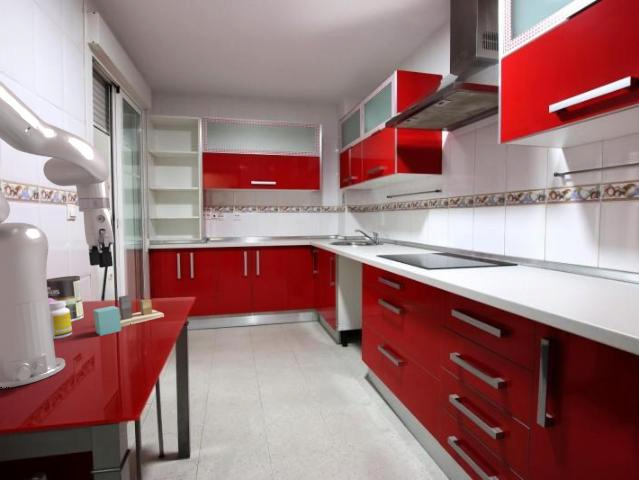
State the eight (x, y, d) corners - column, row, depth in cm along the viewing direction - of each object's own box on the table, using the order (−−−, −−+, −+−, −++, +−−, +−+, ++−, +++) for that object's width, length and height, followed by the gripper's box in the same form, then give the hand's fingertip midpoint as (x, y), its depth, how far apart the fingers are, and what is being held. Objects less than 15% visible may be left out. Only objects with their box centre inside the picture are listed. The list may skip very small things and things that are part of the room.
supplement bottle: (77, 332, 104) (73, 299, 103) (61, 339, 98) (57, 304, 98) (59, 333, 104) (56, 300, 104) (43, 339, 99) (39, 305, 98)
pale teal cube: (121, 330, 103) (118, 308, 102) (100, 335, 99) (98, 312, 99) (115, 327, 106) (113, 305, 106) (95, 332, 103) (93, 309, 102)
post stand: (163, 316, 116) (161, 292, 115) (119, 327, 107) (116, 300, 106) (152, 312, 123) (150, 289, 122) (110, 321, 114) (107, 296, 113)
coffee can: (62, 324, 114) (57, 281, 113) (39, 324, 117) (34, 281, 116) (91, 315, 124) (87, 275, 123) (69, 315, 127) (64, 275, 126)
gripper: (118, 203, 97) (125, 265, 98) (101, 207, 109) (107, 262, 111) (86, 204, 92) (94, 269, 93) (71, 208, 104) (78, 266, 105)
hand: (101, 265), depth 102 cm, fingers open, 9 cm apart
